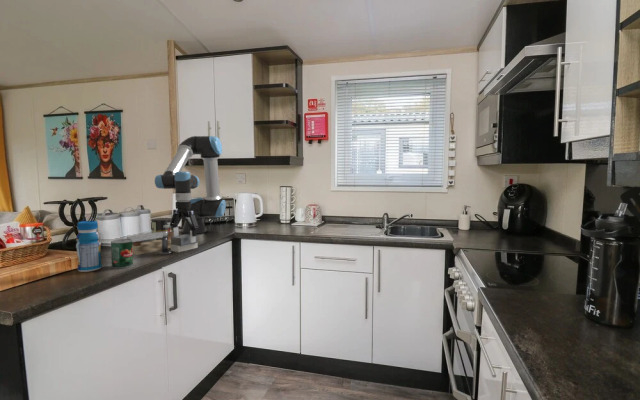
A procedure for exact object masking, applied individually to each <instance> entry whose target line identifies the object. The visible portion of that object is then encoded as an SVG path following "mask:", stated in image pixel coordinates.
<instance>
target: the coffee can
mask: <svg viewBox="0 0 640 400" xmlns="http://www.w3.org/2000/svg"><path fill="white" fill-rule="evenodd" d="M171 219H172V217H158V218H152V219H150V221H151V222H150V223H151V233H157V232H162V231H168V232H172V226H170V222H171ZM156 240H162V238H156V239H151V241H156Z"/></svg>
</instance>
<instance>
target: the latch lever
mask: <svg viewBox="0 0 640 400" xmlns="http://www.w3.org/2000/svg"><path fill="white" fill-rule="evenodd" d="M162 237H168V231H162V232H157V233H152V232H151V233H143V234H136V235H129V236H126V239H131V240H132V243H133V242H136V241H148V240H152V239H156V238H162Z"/></svg>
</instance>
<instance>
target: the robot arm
mask: <svg viewBox="0 0 640 400" xmlns="http://www.w3.org/2000/svg"><path fill="white" fill-rule="evenodd" d="M222 146H223V145H222V142H221V140H220V138H219V137H218V136H213V135H207V136H205V135H203V136H201V135H200V136H199V135H198V136H197V135H194V136H190V137H187V138H186V139H184V140H183V141H182V142H181V143H180V144H179V145H178V146H177V149H176V153H175V155H174V156H173V158H172V160H171V161H170V163H169V164H168V166H167V167H166V168H165V171H164V172H163V174H157V175H156V176H155V178H154V185H155V186H156V188H157V189H166V190H167V189H168V190H170V189H171V190H172V189H174V193H175V194H174V195H175V197H174V198H175V209H173V210H172V216H171V222H170V226H171V229H172V232H173V236H179V235H180V234H179V232H180V231H179V224H180V222H181V221H182V219H183V220H184V224H183V227H182V231H181V232H182V234H183V235H184V234H190V243H193V242H196V235H198V234H204V233H206V232H207V227H206V225H205V222H204V218H220V217H223V216H224V214H225V213H226V208H227V206H226V205H227V203H226V200H225V199H223V196H222V195H221V193H220V179H219V165H218V164H219V163H218V159H220V156H221V155H222V153H223V147H222ZM194 155H200V159H202V160H203V169H204V181H205V182H204V183H205V194H206V196H205V197H204V198H203V197H197V198H192V191H191V189H192V190H194V189H197V188H198V187H199V185H200V179H199V177H198V176H197V175H195V174H191V172H189V171H183V169H184V168H185V166H186V164H187V163H188V161H189V159H190V158H192V157H193V156H194Z"/></svg>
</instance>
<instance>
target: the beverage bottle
mask: <svg viewBox="0 0 640 400" xmlns="http://www.w3.org/2000/svg"><path fill="white" fill-rule="evenodd" d="M76 227H77V231H78V234H77V235H76V238H75V241H76V244H75V248H76V255H77V257H76V258H77V271H78V272H81V273H83V272H84V273H88V272H94V271H97V270H100V269H102V254H101V253H102V251H101V246H102V242H101V235H100V233H99V232H98V231H97V230H98V228H99V225H98V221H97V220H85V221H79V222H77V226H76Z"/></svg>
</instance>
